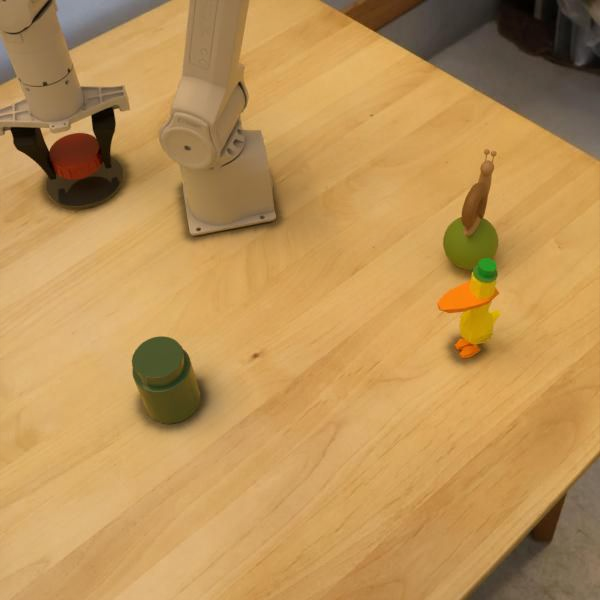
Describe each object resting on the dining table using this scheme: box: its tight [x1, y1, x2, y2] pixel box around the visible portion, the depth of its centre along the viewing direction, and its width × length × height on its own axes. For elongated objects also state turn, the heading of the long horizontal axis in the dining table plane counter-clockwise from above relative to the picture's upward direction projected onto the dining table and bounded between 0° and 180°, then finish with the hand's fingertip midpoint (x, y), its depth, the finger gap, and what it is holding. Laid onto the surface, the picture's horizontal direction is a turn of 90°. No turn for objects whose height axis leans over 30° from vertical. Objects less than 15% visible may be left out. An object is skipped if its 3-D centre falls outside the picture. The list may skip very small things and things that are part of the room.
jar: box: [131, 335, 201, 425], centre depth 77 cm, size 5×5×7 cm
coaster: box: [45, 155, 125, 210], centre depth 99 cm, size 9×9×1 cm
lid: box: [49, 132, 103, 180], centre depth 96 cm, size 6×6×2 cm
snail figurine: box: [442, 148, 499, 270], centre depth 83 cm, size 5×6×12 cm
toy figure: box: [436, 258, 503, 359], centre depth 76 cm, size 7×4×12 cm, turn 112°
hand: (80, 168), depth 97 cm, fingers closed on lid, 6 cm apart
